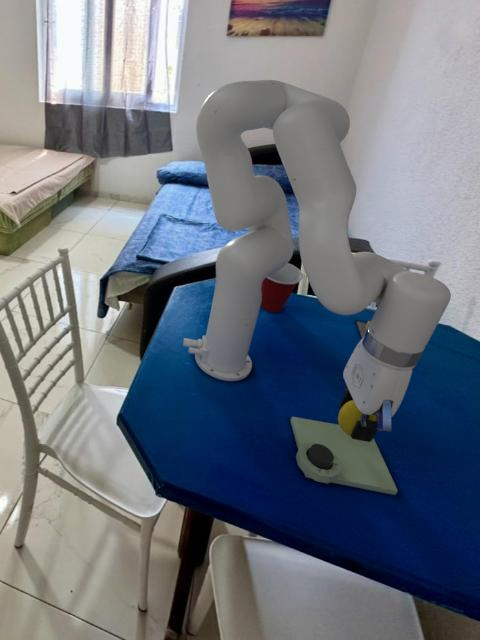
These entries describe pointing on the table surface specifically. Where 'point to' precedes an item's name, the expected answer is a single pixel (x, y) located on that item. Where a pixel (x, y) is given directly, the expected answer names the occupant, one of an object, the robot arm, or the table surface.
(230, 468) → the table surface
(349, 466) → the scale
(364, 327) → the dice set
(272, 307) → the plastic cup
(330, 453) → the button
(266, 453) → the table surface
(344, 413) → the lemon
